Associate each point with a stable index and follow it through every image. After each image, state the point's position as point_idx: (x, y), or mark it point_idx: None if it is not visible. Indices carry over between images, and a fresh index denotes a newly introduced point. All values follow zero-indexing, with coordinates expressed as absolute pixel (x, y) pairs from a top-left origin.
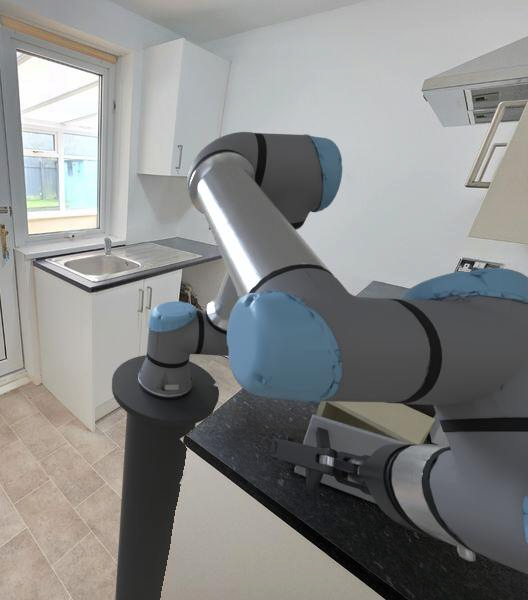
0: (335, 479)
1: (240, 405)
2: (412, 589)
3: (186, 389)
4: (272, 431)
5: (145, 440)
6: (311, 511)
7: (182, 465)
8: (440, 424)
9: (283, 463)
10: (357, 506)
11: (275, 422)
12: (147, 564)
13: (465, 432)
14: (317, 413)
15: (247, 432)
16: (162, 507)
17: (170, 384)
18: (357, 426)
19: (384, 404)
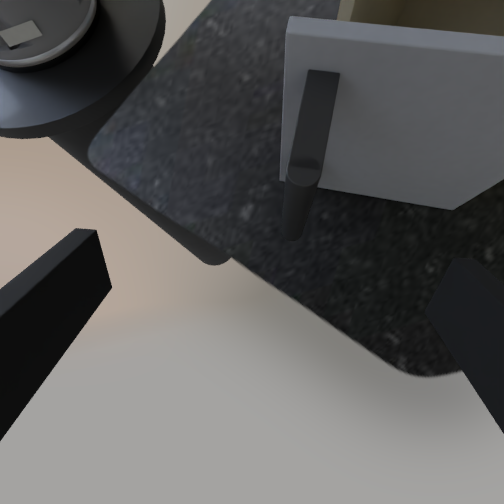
0: (357, 182)
1: (198, 35)
2: (440, 370)
3: (70, 28)
4: (256, 86)
5: (77, 154)
6: (293, 262)
7: None
8: None
9: (91, 313)
10: (390, 223)
11: (268, 59)
12: (194, 242)
13: None
14: (342, 4)
15: (200, 106)
16: None
17: (11, 26)
18: (454, 14)
19: None
